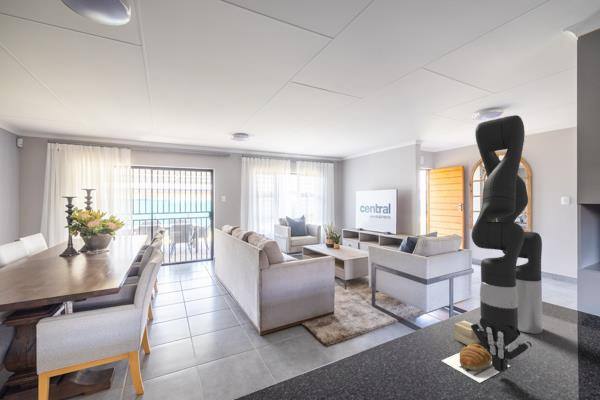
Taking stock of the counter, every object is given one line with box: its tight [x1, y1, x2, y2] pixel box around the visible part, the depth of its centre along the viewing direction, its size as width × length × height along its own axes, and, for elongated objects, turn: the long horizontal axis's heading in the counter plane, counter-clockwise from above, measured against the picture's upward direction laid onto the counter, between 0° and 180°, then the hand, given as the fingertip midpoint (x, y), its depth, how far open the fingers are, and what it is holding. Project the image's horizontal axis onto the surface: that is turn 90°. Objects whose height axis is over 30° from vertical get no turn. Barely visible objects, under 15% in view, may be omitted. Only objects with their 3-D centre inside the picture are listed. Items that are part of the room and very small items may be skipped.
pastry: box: [459, 343, 492, 371], centre depth 70 cm, size 9×7×4 cm
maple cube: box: [453, 320, 481, 346], centre depth 82 cm, size 5×5×5 cm
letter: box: [440, 352, 511, 384], centre depth 71 cm, size 14×10×1 cm
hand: (499, 370), depth 66 cm, fingers closed
